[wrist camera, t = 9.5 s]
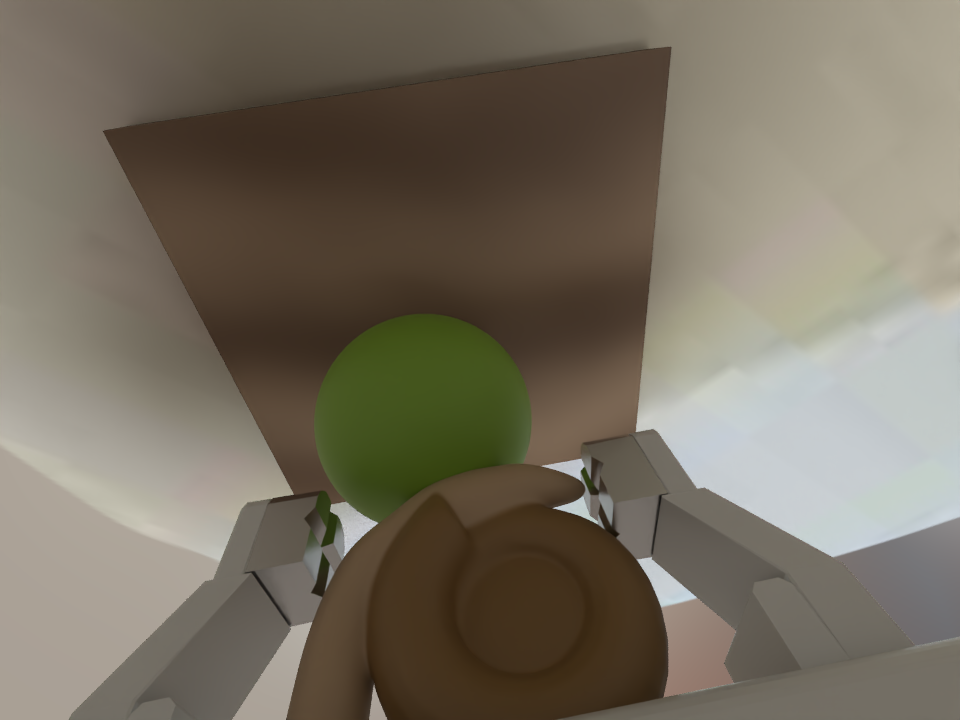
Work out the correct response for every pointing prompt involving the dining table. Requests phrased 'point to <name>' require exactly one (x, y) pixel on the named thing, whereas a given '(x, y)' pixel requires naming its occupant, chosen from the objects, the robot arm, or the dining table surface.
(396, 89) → the walnut board
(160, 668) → the robot arm
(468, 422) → the snail figurine
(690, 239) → the dining table surface
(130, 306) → the dining table surface
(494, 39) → the dining table surface
